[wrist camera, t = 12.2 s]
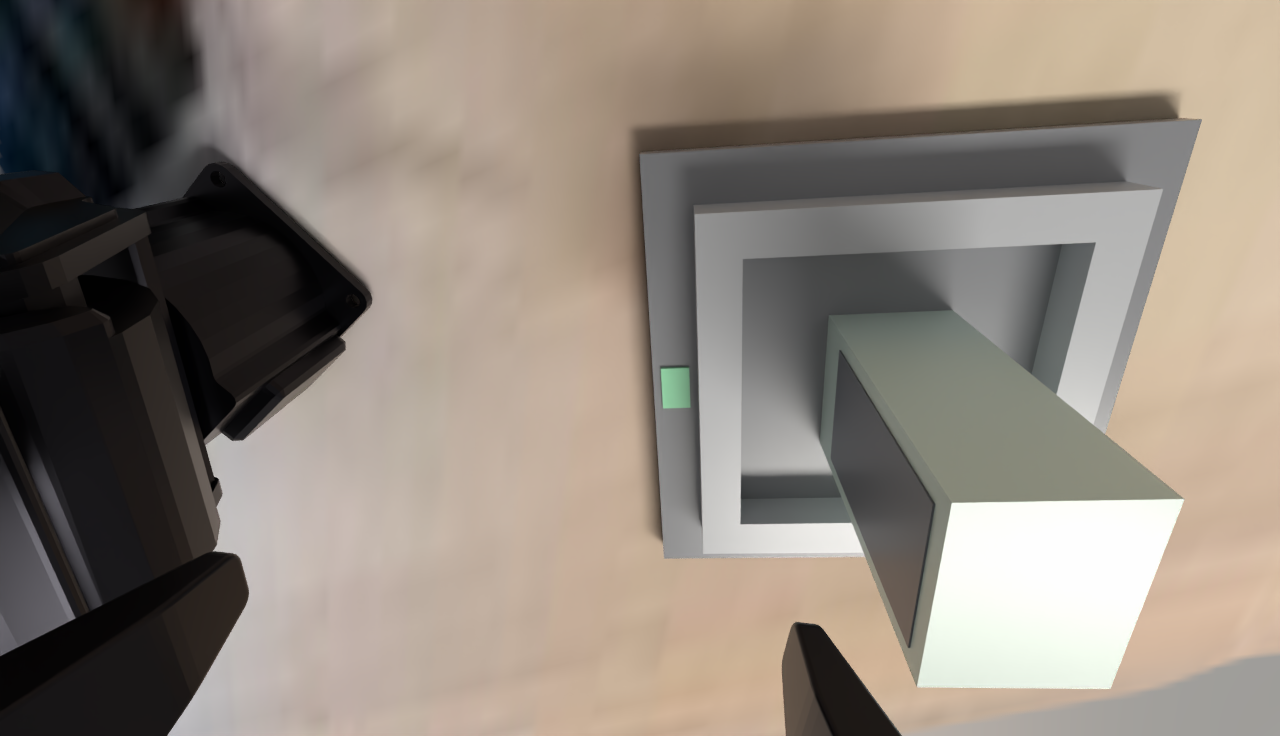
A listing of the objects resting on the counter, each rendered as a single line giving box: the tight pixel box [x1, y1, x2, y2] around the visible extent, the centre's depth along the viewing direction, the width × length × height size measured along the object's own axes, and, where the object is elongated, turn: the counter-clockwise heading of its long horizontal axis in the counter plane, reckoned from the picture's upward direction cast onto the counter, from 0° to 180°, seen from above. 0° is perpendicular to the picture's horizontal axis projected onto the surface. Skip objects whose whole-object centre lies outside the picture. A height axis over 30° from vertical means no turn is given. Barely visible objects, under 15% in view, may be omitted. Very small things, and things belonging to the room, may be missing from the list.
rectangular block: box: [820, 310, 1184, 689], centre depth 16 cm, size 4×5×10 cm
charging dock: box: [639, 118, 1202, 558], centre depth 21 cm, size 16×16×2 cm
